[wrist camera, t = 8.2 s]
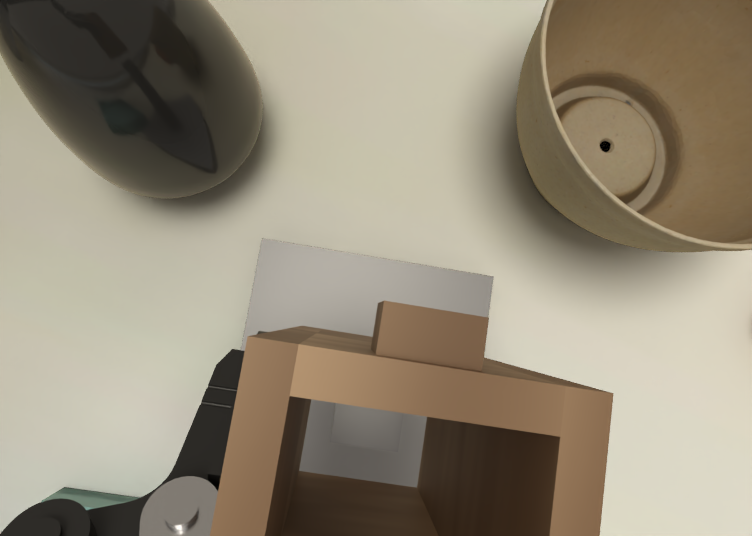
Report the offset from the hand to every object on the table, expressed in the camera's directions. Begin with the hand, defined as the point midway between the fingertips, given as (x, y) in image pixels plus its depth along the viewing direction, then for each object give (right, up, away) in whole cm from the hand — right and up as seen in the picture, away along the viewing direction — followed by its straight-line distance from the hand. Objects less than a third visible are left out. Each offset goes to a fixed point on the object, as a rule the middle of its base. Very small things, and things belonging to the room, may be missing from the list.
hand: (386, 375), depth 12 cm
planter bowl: (+14, +10, +19) cm, 26 cm away
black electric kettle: (-12, +11, +18) cm, 24 cm away
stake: (-1, -4, +17) cm, 17 cm away
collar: (-1, -2, +3) cm, 4 cm away
